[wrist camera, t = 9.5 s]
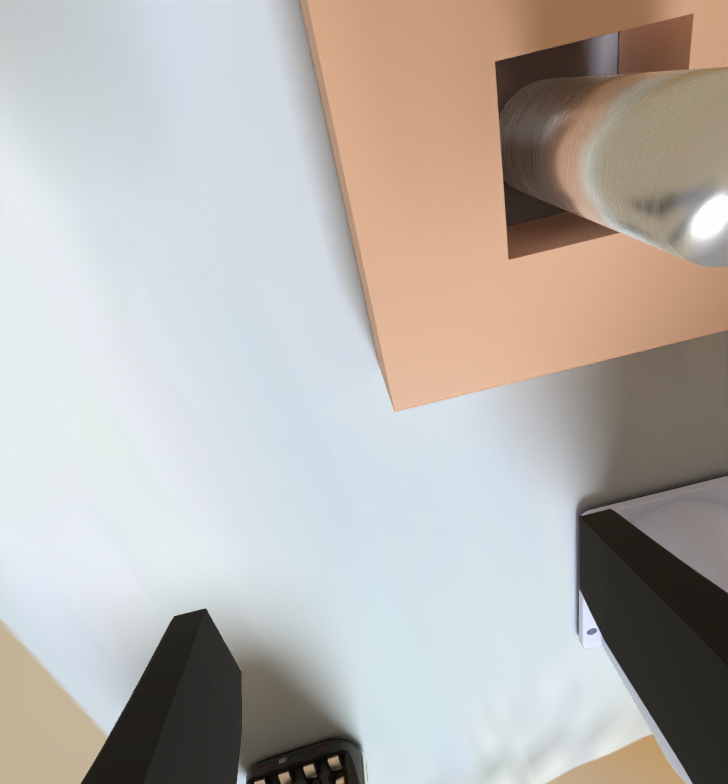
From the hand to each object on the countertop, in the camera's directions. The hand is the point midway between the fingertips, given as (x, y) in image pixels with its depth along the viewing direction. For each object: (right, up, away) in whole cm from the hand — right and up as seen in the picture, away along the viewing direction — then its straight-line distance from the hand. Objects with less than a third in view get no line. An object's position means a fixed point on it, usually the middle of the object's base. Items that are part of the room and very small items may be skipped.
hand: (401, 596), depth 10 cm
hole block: (+4, +11, +5) cm, 13 cm away
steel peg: (+4, +11, +5) cm, 13 cm away
